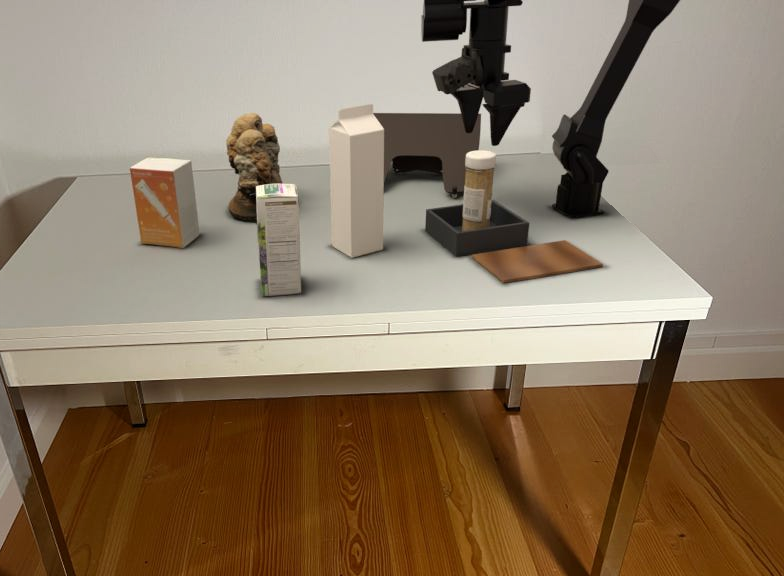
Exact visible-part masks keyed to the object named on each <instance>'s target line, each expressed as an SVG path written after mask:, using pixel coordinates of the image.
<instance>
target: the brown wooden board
mask: <svg viewBox="0 0 784 576" xmlns="http://www.w3.org/2000/svg"><path fill="white" fill-rule="evenodd" d="M471 258H472V259H473V260H474V261H475V262H476V263H478V264H479V265H480V266H481V267H482V268H484V269H485V270H486V271H487V272H488V273H490V274H491V275H492V276H494V277H495V278H496V279H498V280H499V281H500V282H501V283H502V284H508V283H514V282H520V281H526V280H532V279H538V278H544V277H550V276H556V275H561V274H568V273H575V272H580V271H585V270H586V271H587V270H593V269H598V268H603V267H604V263H602V262H601V261H599V260H597V259H596V258H594V257H593V256H591V255H589V254H588V253H586V252H585V251H583V250H582V249H580V248H578V247H577V246H575V245H573V244H572V243H570V242H569V241H567V240H565V239H564V240H558V241H551V242H545V243H538V244H532V245H527V246H521V247H515V248H509V249H502V250H496V251H489V252H483V253H477V254H471Z"/></svg>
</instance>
